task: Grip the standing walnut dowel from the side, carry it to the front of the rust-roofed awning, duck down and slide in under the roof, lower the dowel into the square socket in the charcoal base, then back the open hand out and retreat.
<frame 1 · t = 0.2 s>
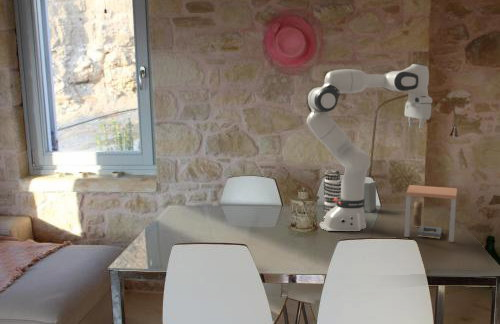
hand: (416, 127, 257), 48 cm above the table, tool pointing down, fingers open, 8 cm apart
awning: (429, 235, 247), on the table
skincare box: (367, 210, 290), on the table
peg: (417, 226, 260), on the table
decorative candle: (332, 218, 276), on the table
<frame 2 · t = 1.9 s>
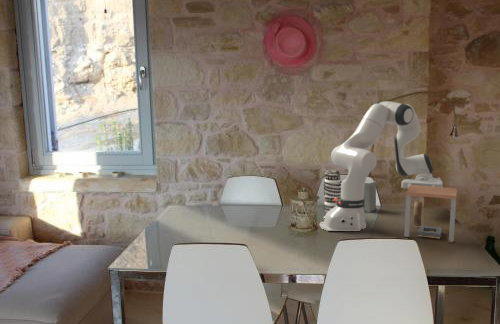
hand: (420, 188, 268), 16 cm above the table, tool horizontal, fingers open, 8 cm apart
nothing on the table moved.
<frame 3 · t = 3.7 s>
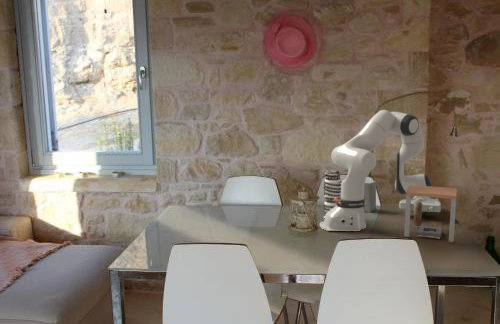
hand: (418, 209, 266), 6 cm above the table, tool horizontal, fingers open, 8 cm apart
nothing on the table moved.
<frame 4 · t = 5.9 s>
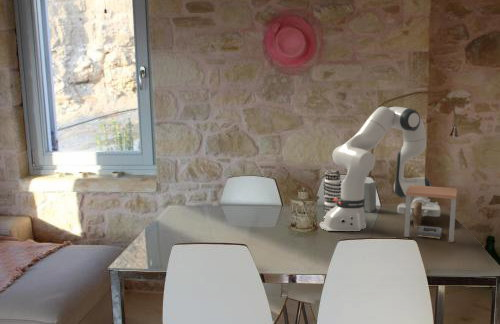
hand: (417, 214, 258), 7 cm above the table, tool horizontal, fingers closed on peg, 3 cm apart
peg: (417, 226, 260), on the table, touching gripper
everything else where it was.
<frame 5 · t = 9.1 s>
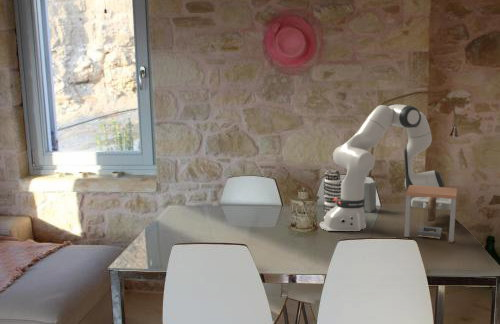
hand: (431, 207, 255), 10 cm above the table, tool horizontal, fingers closed on peg, 3 cm apart
peg: (431, 220, 257), point 4 cm above the table, touching gripper
everything else where it was.
when the fingers open (8 cm above the table, at t = 12.1 s): peg stays where it is, resting in awning.
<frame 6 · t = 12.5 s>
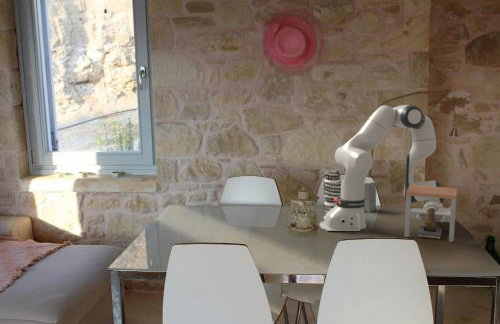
hand: (430, 219, 245), 8 cm above the table, tool horizontal, fingers open, 8 cm apart
peg: (429, 235, 247), resting in awning
everything else where it was.
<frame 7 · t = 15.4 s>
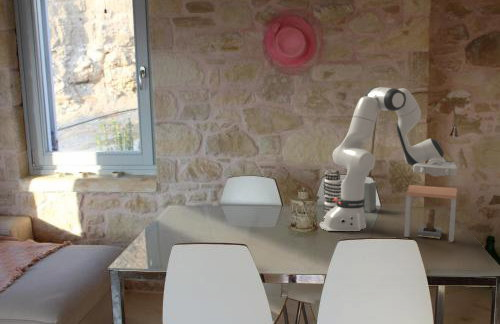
hand: (434, 172, 253), 27 cm above the table, tool horizontal, fingers open, 8 cm apart
nothing on the table moved.
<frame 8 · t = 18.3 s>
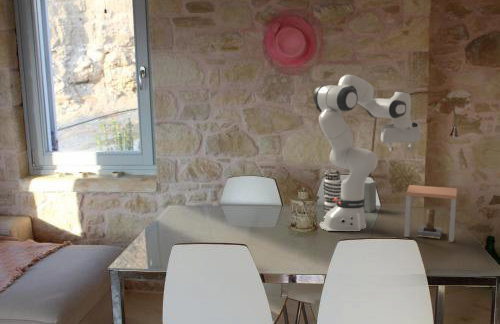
hand: (400, 150, 274), 34 cm above the table, tool pointing down, fingers open, 8 cm apart
nothing on the table moved.
at the end: peg 0.0 cm off-centre on the awning, point 0.0 cm above the awning's base; peg tilted 0°; the gripper is holding nothing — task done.
